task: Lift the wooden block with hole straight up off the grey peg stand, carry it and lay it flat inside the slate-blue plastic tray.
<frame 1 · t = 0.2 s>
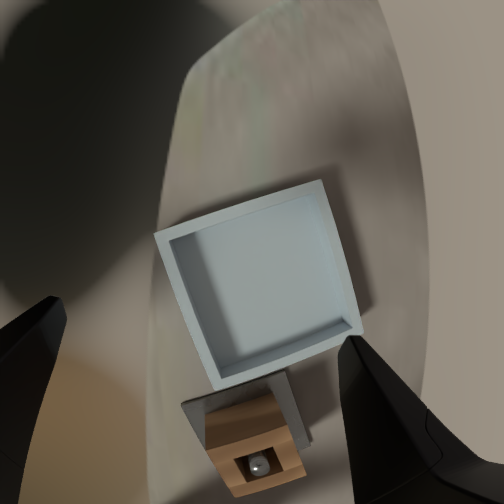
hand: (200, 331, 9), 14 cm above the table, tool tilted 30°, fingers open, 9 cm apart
wooden block with hole: (250, 429, 24), resting on grey peg stand
tray: (261, 283, 24), on the table
grey peg stand: (249, 427, 25), on the table
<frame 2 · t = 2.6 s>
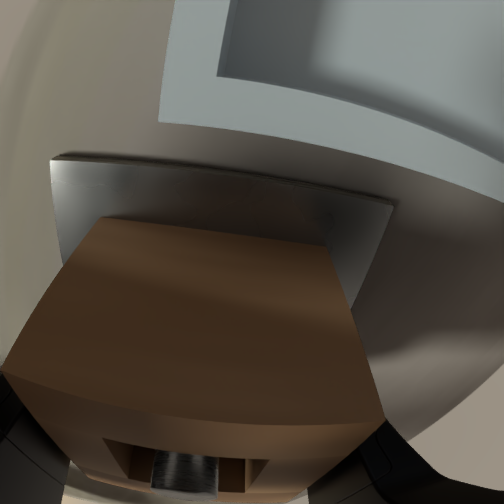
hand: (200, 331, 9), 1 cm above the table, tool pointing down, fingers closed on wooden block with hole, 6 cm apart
wooden block with hole: (202, 316, 9), resting on grey peg stand, touching gripper
grey peg stand: (203, 307, 10), on the table
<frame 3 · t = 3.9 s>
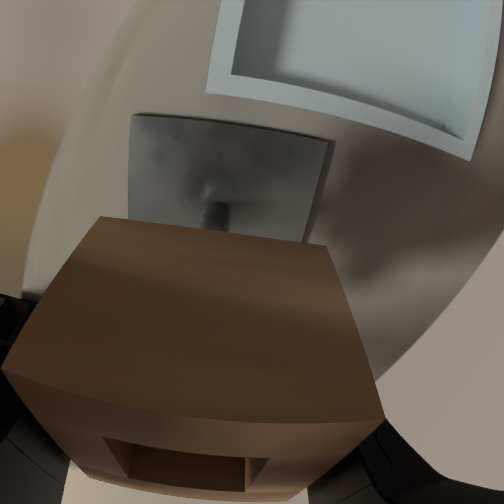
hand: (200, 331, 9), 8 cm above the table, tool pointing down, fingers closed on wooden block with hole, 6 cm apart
wooden block with hole: (202, 315, 10), point 7 cm above the table, touching gripper
grey peg stand: (216, 211, 16), on the table
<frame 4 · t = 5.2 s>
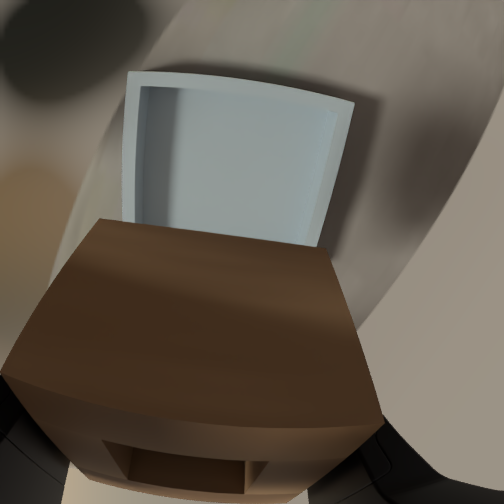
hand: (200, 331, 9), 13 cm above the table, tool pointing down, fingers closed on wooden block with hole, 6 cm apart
wooden block with hole: (202, 317, 9), point 12 cm above the table, touching gripper
tray: (227, 173, 19), on the table
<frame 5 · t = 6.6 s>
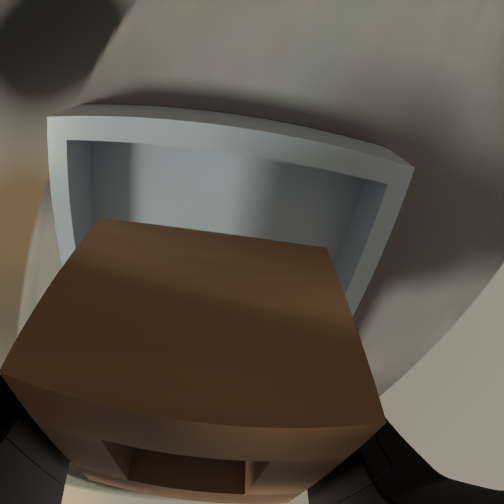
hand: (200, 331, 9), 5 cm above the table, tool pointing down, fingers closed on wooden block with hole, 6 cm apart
wooden block with hole: (202, 317, 9), point 5 cm above the table, touching gripper
tray: (213, 253, 14), on the table
when the fingers open (3 cm above the table, at t = 7.9 s): wooden block with hole drops 2 cm, resting on tray.
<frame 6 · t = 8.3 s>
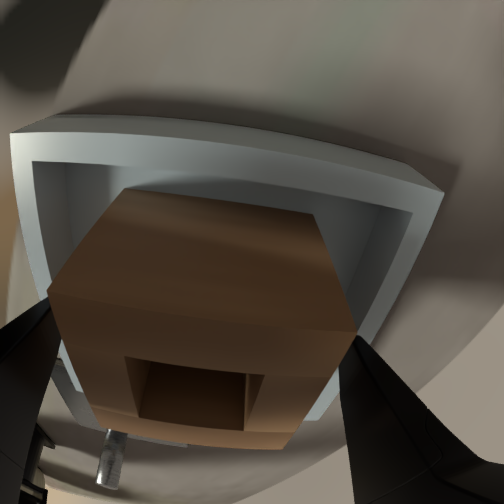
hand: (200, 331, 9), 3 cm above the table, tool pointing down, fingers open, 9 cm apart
wooden block with hole: (207, 277, 11), point 1 cm above the table, touching tray
tray: (208, 283, 12), on the table
canister: (15, 455, 35), on the table
grey peg stand: (122, 408, 18), on the table
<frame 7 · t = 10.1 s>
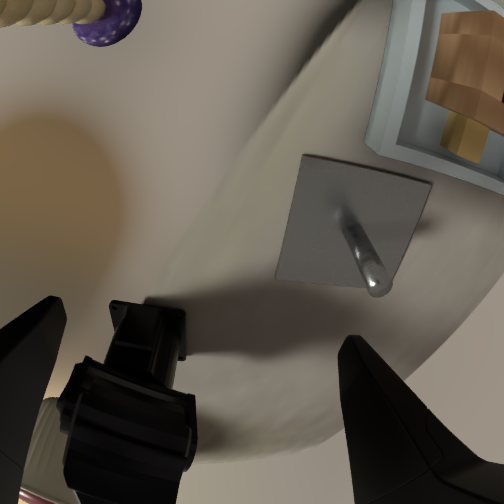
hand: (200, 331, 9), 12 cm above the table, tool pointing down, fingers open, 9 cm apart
toy lamp: (104, 17, 13), on the table
wooden block with hole: (470, 73, 13), point 1 cm above the table, touching tray
tray: (463, 83, 14), on the table
canister: (79, 413, 39), on the table
grey peg stand: (352, 230, 21), on the table
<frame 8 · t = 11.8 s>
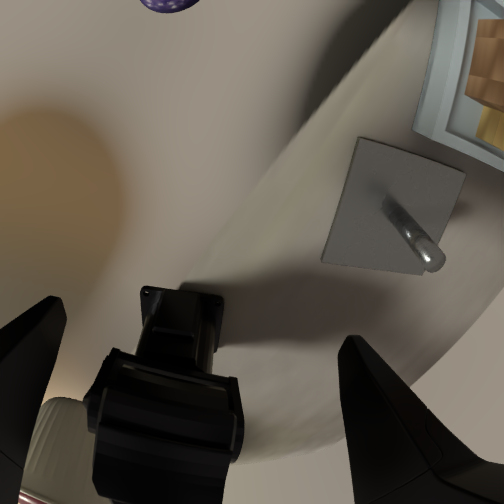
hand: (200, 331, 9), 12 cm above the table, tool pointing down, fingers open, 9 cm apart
wooden block with hole: (500, 74, 14), point 1 cm above the table, touching tray
tray: (493, 82, 15), on the table
canister: (86, 414, 37), on the table
grey peg stand: (396, 214, 20), on the table
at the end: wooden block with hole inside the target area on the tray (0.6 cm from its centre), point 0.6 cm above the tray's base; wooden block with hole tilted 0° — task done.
